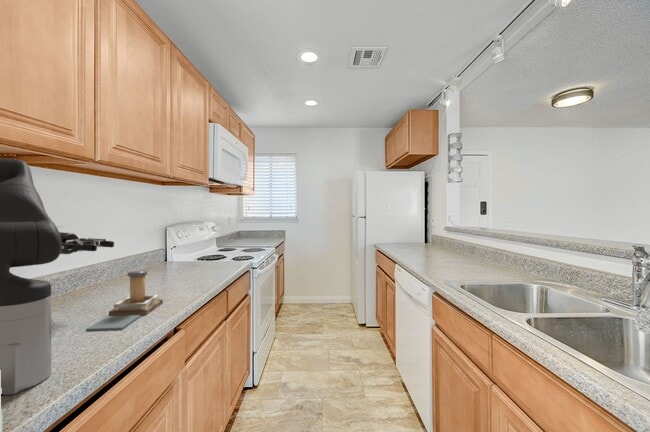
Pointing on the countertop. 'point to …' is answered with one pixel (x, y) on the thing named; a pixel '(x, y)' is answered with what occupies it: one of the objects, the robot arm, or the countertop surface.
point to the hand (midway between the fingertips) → (105, 246)
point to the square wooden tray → (136, 306)
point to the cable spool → (137, 286)
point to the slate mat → (114, 323)
